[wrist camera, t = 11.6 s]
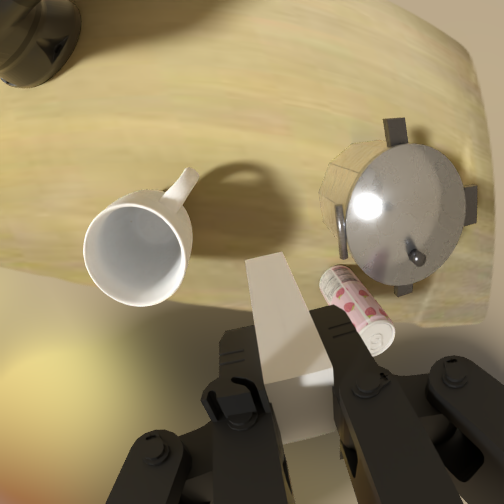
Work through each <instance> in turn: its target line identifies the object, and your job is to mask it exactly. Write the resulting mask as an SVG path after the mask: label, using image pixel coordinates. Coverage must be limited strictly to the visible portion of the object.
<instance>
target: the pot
mask: <svg viewBox="0 0 504 504" xmlns="http://www.w3.org/2000/svg"><path fill="white" fill-rule="evenodd" d="M383 123H384V129H385V136H386V141H382V140H375V141H367V142H359V143H352V144H351V145H349V146H348V147H347V148H346V149H345V150H344V151H342V152H341V153H340V154H339V155H338V156H337V157H335V158H334V159H333V160H332V161H331V162H330V163H329V165H328V168H327V170H326V173H325V176H324V179H323V181H322V184H321V187H320V190H319V199H320V205H321V212H322V219H323V223H324V224H325V225H326V226H327V227H328V229H329V230H330V231H331V232H332V234H333V235H334V236H335V237H336V239H337V240H338V234H337V226H336V217H335V209H334V205H336V204H342V205H343V213H344V210H345V205H346V200H347V197H348V194H349V191H350V189H351V186H352V184H353V182H354V180H355V179H356V177H357V175H358V174H359V172H360V171H361V170H362V168H363V167H364V166H365V164H367V163H368V162H369V161H370V160H371V159H372V158H373V157H374V156H375V155H377V154H378V153H379V152H381V151H383V150H385V149H387V148H389V147H392V146H394V145H398V144H404V143H408V137H407V130H406V123H405V118H389V119H383ZM347 251H348V252H349V253H350V251H349V249H348V246H347ZM350 254H351V253H350ZM412 289H413V283H412V284H408V285H401V286H394V294H395V295H396V296H397V297H399V296H402V295H405V294H408V293H411V292H412Z"/></svg>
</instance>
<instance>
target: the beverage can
mask: <svg viewBox="0 0 504 504" xmlns="http://www.w3.org/2000/svg"><path fill="white" fill-rule="evenodd" d="M319 287H320V290H321V292H322V294H323V296H324V298H325V300H326V301H327V303H328V305H333V304H334V305H336V306H338V307H339V308H341V309H342V310H344V311H345V312H346V313H347V315H348V316H349V318H350V320H351V321H352V323H353V325H354V326H355V328H356V330H357V332H358V333H359V335H360V336H361V338H362V340H363V341H364V343H365V345H366V346H367V348H368V350H369V351H370V353H371V355H372V356H376V355H378V354H381V353H382V352H384V351H385V350H386V349H387V348H388V347H389V346H390V345H391V343H392V341H393V340H394V336H395V327H394V325H393V322H392V321H391V319H390V318H389V317H388V315H387V314H386V313H385V311H384V310H383V309H382V308H381V306H380V305H379V304H378V303H377V301H376V300H375V299H374V297H373V296H372V295H371V294H370V292H369V291H368V290H367V289H366V288H365V286H364V285H363V284H362V283H361V281H360V280H359V279H358V278H357V276H356V275H355V274H354V273H353V272H352V270H351V269H350V268H348V267H346V266H343V265H337V266H333V267H331V268H329V269H328V270H327V271H326V272H325V273H324V274H323V275H322V277H321V279H320V284H319Z"/></svg>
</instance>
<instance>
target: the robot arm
mask: <svg viewBox="0 0 504 504" xmlns="http://www.w3.org/2000/svg"><path fill="white" fill-rule="evenodd" d="M80 28H81V17H80V13H79V10H78V8H77V7H76V6H75V4H73V3H72V2H71V1H69V0H0V78H1V80H2V81H3V82H4V83H6V84H7V85H9V86H12V87H18V88H32V87H35V86H38V85H40V84H42V83H44V82H45V81H47V80H48V79H50V78H51V77H52V76H53V75H54V74H56V73H57V72H58V71H59V70H60V68H61V67H62V66H63V65H64V64H65V62H66V61H67V60H68V58H69V57H70V55H71V53H72V51H73V50H74V47H75V45H76V43H77V40H78V37H79V34H80ZM245 265H246V271H247V278H248V284H249V291H250V297H251V304H252V310H253V317H254V323H255V325H251V326H247V327H242V328H237V329H232V330H228V331H225V334H224V335H223V337H222V338H221V340H220V342H219V355H220V357H219V365H220V366H219V378H217V379H216V380H214V381H212V382H211V383H210V384H209V385H208V386H207V387H206V389H205V390H204V391H203V394H202V397H201V402H202V404H203V406H204V408H205V410H206V411H207V413H208V415H209V417H210V419H211V421H210V422H208V423H207V424H206V425H205V426H203V427H201V428H199V429H197V430H194V431H192V432H189V433H186V434H184V435H181V436H177V435H175V434H174V433H173V432H169V431H167V430H154V431H151V432H148V433H145V434H144V435H142V436H141V437H139V438H138V439H137V440H136V441H135V443H134V444H133V446H132V447H131V449H130V452H129V454H128V456H127V458H126V460H125V462H124V464H123V466H122V469H121V471H120V473H119V475H118V477H117V479H116V482H115V484H114V486H113V488H112V491H111V493H110V495H109V497H108V499H107V501H106V504H295V500H294V495H293V490H292V486H291V480H290V475H289V470H288V465H287V461H286V457H285V454H284V449H283V444H287V443H291V442H296V441H300V440H305V439H309V438H313V437H317V436H320V435H324V434H328V433H331V432H335V431H336V428H335V424H336V427H337V430H338V433H339V436H340V459H344V460H345V464H346V467H347V470H348V473H349V476H350V479H351V482H352V485H353V488H354V492H355V495H356V498H357V501H358V504H463V502H462V500H461V498H460V496H461V497H462V498H463V499H464V500H465V501H466V502H467V503H468V504H504V385H502V384H501V383H500V382H499V381H497V380H496V379H495V378H493V377H492V376H491V375H490V374H488V373H487V372H486V371H484V370H483V369H482V368H480V367H479V366H478V365H476V364H475V363H474V362H472V361H471V360H469V359H467V358H464V357H460V356H448V357H444V358H442V359H440V360H438V361H436V363H435V364H434V365H433V366H432V367H431V370H430V373H428V374H421V375H412V376H398V375H393V374H392V373H391V372H389V370H387V369H385V368H383V367H380V366H378V364H377V363H376V362H375V360H374V358H373V356H372V355H371V353H370V351H369V350H368V348H367V346H366V345H365V343H364V341H363V340H362V338H361V336H360V335H359V333H358V332H357V330H356V328H355V326H354V325H353V323H352V321H351V320H350V318H349V316H348V315H347V313H346V312H345V311H344V310H342V309H341V308H339V307H338V306H336V305H334V304H333V305H329V306H325V307H322V308H318V309H314V310H310V311H308V308H307V306H306V304H305V302H304V299H303V297H302V295H301V293H300V290H299V288H298V286H297V284H296V281H295V279H294V277H293V275H292V273H291V270H290V268H289V266H288V264H287V261H286V259H285V257H284V255H283V253H282V252H278V253H273V254H269V255H265V256H260V257H256V258H252V259H247V260H245Z"/></svg>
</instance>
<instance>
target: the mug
mask: <svg viewBox="0 0 504 504" xmlns="http://www.w3.org/2000/svg"><path fill="white" fill-rule="evenodd" d="M198 179H199V174H198V172H197V171H196V170H194V169H193V168H191V167H187V168H186V169H185V170H184V171H183V173H182V174H181V176H180V177H179V179H178V180H177V181H176V182H175V183H174V184H173V185H172V186H171V187H170V188H169V189H168V190H167V191H166V192H163V191H160V190H153V189H152V190H150V189H149V190H148V189H146V190H139V191H135V192H133V193H129V194H127V195H125V196H123V197H122V198H119V199H118V200H116V201H115V202H113V203H112V204H111V205H109V206H108V207H107V208H106V209H104V210H103V211H102V212H100V213H99V214H98V215H97V216H96V217H95V218H94V220H93V221H92V222H91V224H90V226H89V228H88V230H87V232H86V235H85V239H84V247H83V253H84V260H85V264H86V267H87V270H88V272H89V274H90V276H91V278H92V279H93V281H94V282H95V284H96V285H97V286H98V287H99V288H100V289H101V290H102V291H103V292H104V293H105V294H107V295H108V296H110V297H111V298H113V299H114V300H117V301H118V302H121V303H124V304H127V305H131V306H139V307H142V306H151V305H155V304H158V303H160V302H163V301H164V300H166V299H168V298H169V297H170V296H171V295H173V294H174V293H175V292H176V290H177V289H178V288H179V286H180V285H181V283H182V281H183V279H184V276H185V273H186V269H187V267H188V262H189V260H190V255H191V249H192V242H193V233H192V226H191V221H190V218H189V215H188V214H187V211H186V210H185V208H184V207H183V203H184V202H185V200H186V198H187V197H188V195H189V193H190V192H191V190H192V189H193V188H194V186H195V184H196V183H197V181H198Z"/></svg>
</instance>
